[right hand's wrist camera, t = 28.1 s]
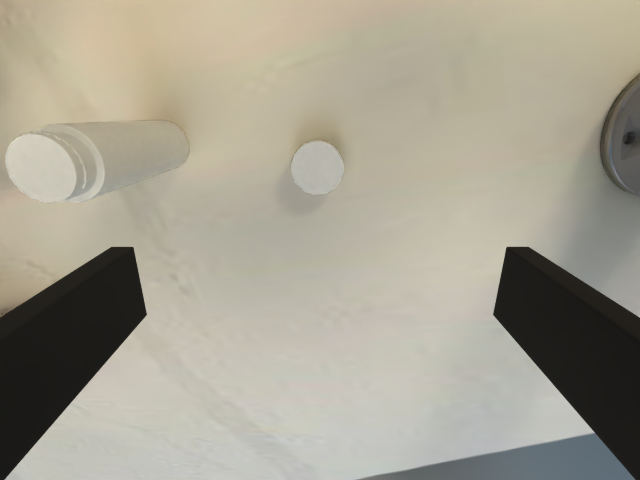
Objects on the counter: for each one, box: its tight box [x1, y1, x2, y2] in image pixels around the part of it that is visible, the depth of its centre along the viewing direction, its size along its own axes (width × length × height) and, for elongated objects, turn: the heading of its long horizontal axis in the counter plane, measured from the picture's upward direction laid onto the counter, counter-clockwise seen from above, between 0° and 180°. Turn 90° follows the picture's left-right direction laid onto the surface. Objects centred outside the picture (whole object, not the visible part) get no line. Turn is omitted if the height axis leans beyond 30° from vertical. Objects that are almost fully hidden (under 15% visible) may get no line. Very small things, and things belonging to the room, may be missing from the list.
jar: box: [5, 120, 189, 203], centre depth 30 cm, size 5×5×19 cm
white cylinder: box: [291, 140, 344, 195], centre depth 39 cm, size 6×6×2 cm
